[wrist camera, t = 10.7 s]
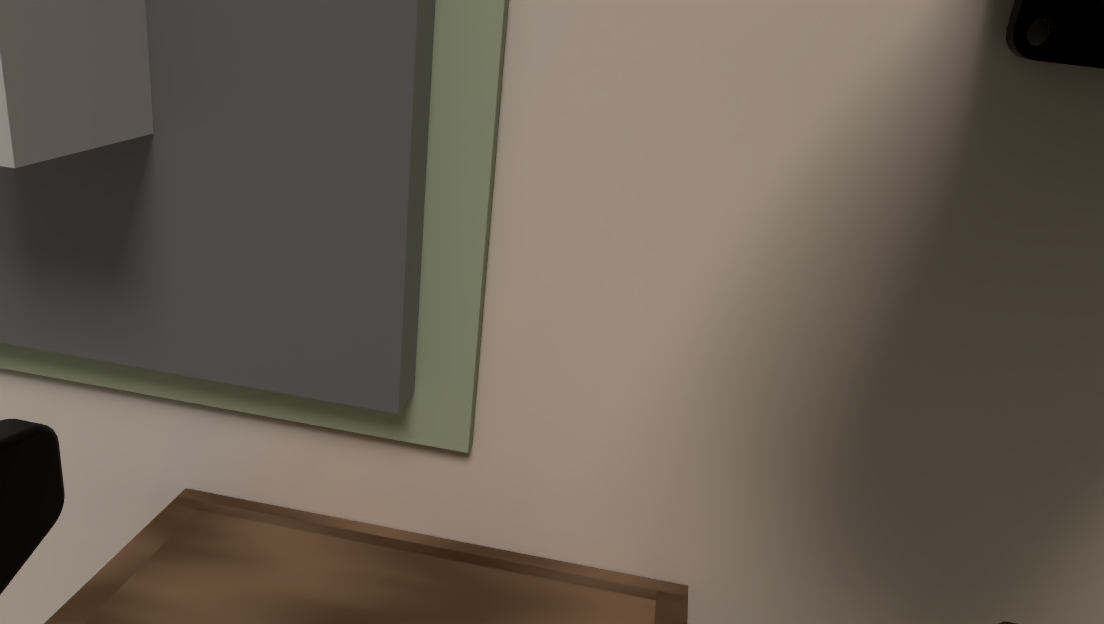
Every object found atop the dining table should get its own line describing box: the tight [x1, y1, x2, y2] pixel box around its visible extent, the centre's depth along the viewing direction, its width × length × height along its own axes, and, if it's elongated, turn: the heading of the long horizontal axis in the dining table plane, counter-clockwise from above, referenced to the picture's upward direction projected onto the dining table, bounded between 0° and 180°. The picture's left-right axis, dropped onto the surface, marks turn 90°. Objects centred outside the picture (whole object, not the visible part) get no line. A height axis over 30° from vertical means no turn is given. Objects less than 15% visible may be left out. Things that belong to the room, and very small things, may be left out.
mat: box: [0, 0, 509, 453], centre depth 19 cm, size 18×18×1 cm
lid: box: [0, 0, 436, 414], centre depth 17 cm, size 15×15×5 cm
